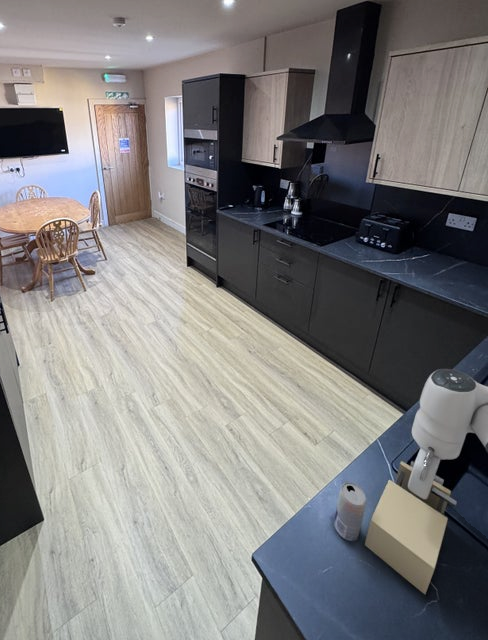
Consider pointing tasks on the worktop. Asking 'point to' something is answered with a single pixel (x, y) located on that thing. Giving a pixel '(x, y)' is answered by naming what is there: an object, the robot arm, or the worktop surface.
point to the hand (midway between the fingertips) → (422, 479)
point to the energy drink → (349, 511)
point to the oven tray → (432, 499)
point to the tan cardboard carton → (406, 535)
